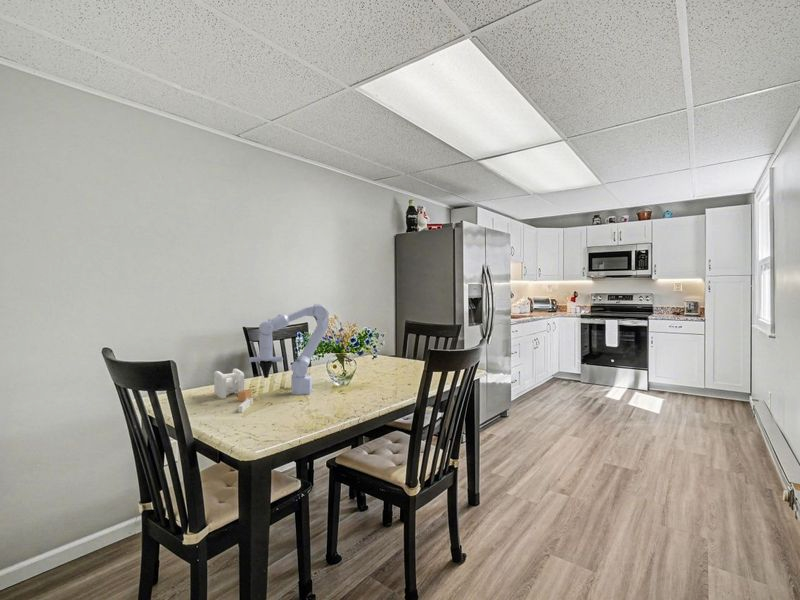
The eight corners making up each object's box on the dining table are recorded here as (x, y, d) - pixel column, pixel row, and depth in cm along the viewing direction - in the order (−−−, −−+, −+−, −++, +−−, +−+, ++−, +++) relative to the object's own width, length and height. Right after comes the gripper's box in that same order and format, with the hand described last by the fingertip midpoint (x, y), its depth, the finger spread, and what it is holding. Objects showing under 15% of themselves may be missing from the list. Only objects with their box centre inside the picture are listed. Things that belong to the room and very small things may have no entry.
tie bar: (253, 403, 175) (253, 398, 175) (243, 412, 163) (243, 406, 163) (247, 403, 175) (247, 398, 175) (237, 412, 163) (237, 406, 163)
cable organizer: (245, 398, 188) (245, 372, 188) (220, 402, 182) (220, 375, 181) (236, 391, 200) (236, 367, 200) (212, 394, 194) (212, 370, 193)
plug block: (251, 399, 182) (251, 390, 182) (245, 401, 178) (245, 392, 178) (243, 398, 183) (243, 389, 183) (237, 401, 180) (237, 391, 179)
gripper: (284, 346, 192) (284, 375, 193) (252, 346, 192) (252, 375, 192) (280, 348, 185) (280, 378, 186) (247, 348, 185) (248, 379, 185)
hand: (266, 377), depth 188 cm, fingers closed
